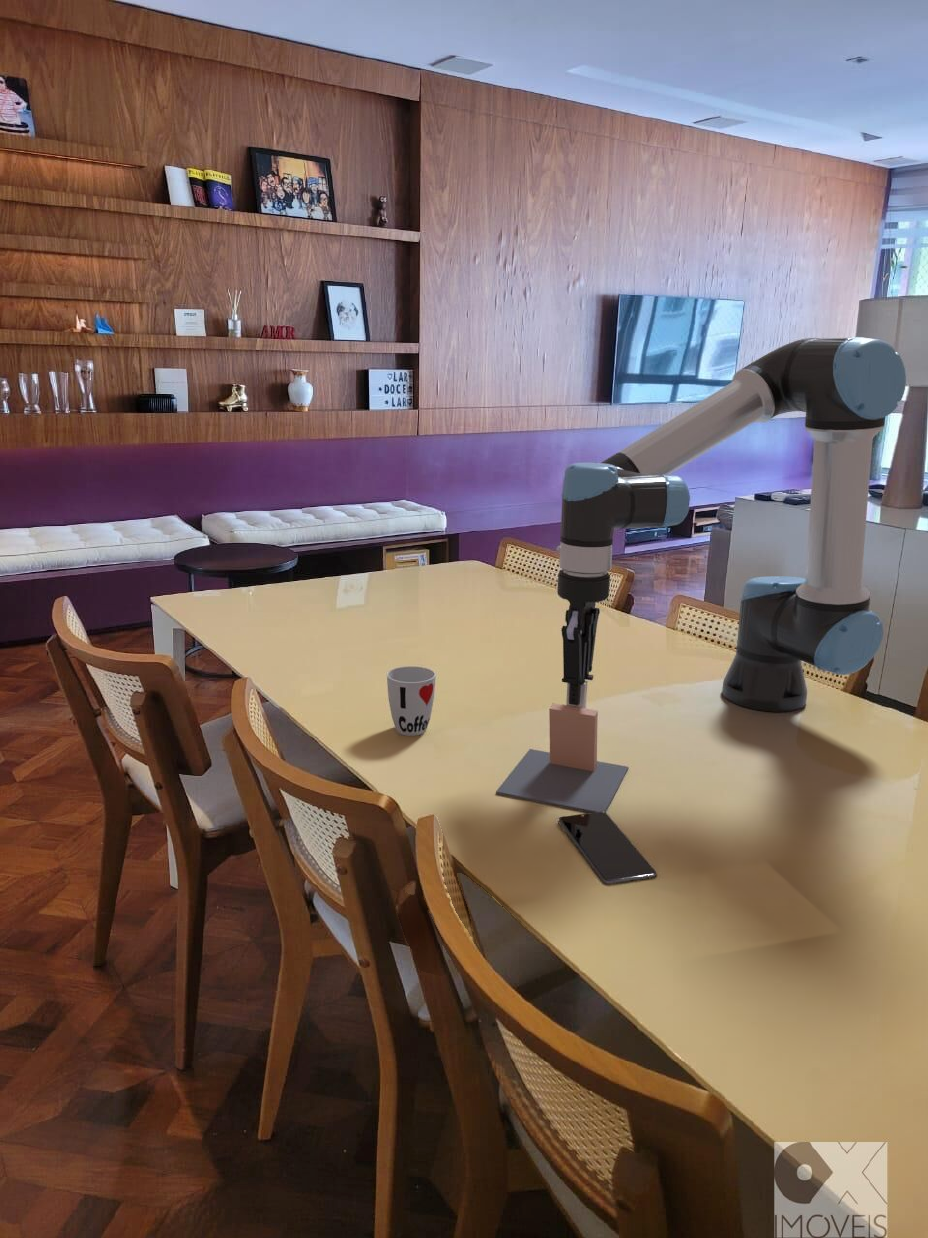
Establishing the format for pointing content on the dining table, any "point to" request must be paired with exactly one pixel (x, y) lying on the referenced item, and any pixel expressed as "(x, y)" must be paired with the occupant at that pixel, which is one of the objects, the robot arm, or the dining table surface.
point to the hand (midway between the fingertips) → (575, 721)
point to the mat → (563, 783)
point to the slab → (573, 736)
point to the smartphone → (606, 848)
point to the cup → (411, 698)
